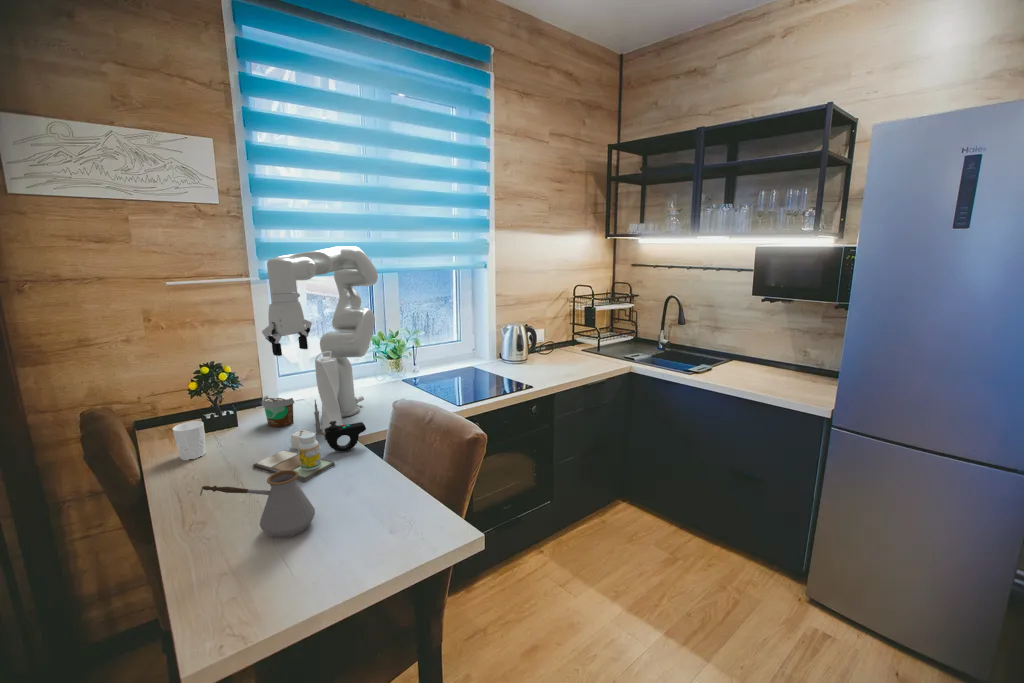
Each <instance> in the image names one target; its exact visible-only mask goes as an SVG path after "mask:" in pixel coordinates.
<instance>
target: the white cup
mask: <svg viewBox="0 0 1024 683" xmlns="http://www.w3.org/2000/svg"><path fill="white" fill-rule="evenodd" d="M172 433H173V436H174V441H175V446H176V448H177V451H178V455H179V459H180V460H181V459H183V460H182V461H190V460H189V459H194V458H197V457H200V456H202V455H204V454H205V453H206V454H207V449H206V444H207V443H206V433H205V426H204V422H203V421H199V420H194V421H193V420H191V421H188V422H183V423H180V424H177V425H175V426H173V427H172ZM206 454H205V455H206ZM205 455H204V456H205ZM202 457H203V456H202ZM200 458H201V457H200ZM197 459H198V458H197ZM194 460H195V459H194Z"/></svg>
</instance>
